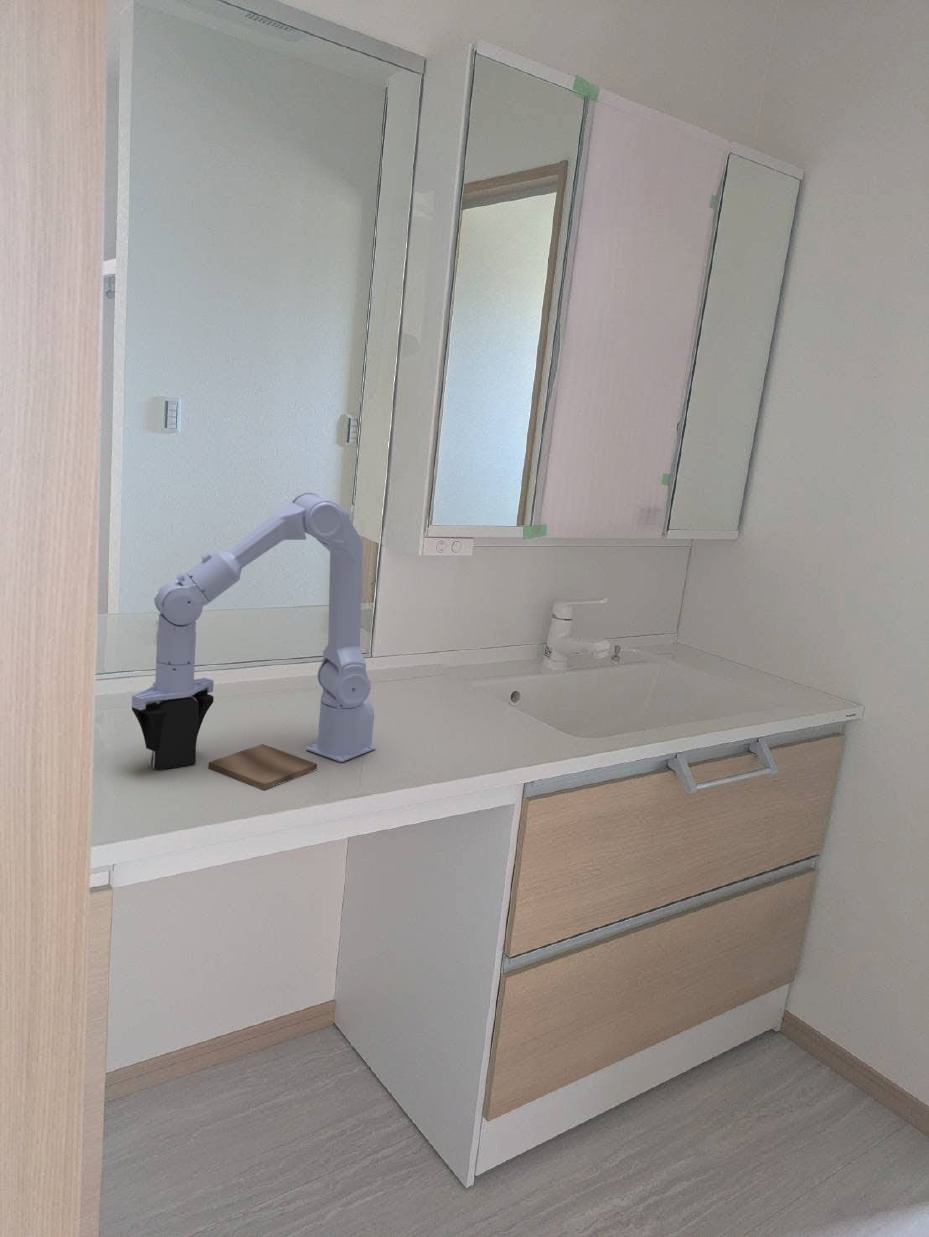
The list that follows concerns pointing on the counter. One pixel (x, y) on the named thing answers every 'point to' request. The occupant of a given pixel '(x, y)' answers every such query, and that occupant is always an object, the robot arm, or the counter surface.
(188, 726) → the battery charger
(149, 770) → the counter surface
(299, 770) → the walnut board
